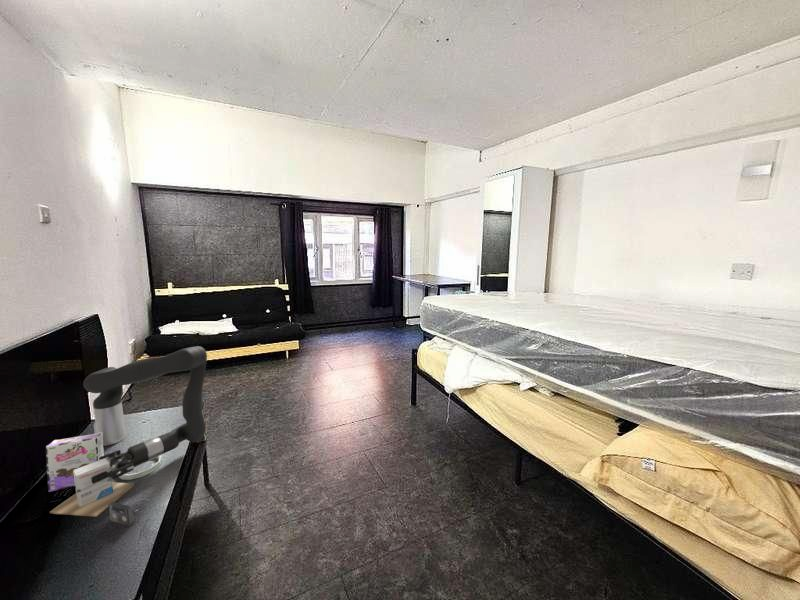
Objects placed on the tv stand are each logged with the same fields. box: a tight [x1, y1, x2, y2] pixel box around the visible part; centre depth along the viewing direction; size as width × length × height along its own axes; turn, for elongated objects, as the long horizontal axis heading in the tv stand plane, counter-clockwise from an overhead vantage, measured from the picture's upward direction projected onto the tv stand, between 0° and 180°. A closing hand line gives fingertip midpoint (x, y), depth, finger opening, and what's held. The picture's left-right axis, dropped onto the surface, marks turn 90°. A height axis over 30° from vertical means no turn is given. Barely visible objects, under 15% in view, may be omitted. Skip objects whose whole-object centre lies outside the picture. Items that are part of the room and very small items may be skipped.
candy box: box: [45, 432, 105, 493], centre depth 115 cm, size 14×6×16 cm, turn 116°
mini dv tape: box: [108, 501, 136, 527], centre depth 100 cm, size 8×2×6 cm, turn 76°
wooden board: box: [49, 481, 136, 518], centre depth 109 cm, size 16×14×1 cm
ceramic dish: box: [118, 455, 163, 481], centre depth 125 cm, size 13×13×2 cm
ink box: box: [73, 457, 113, 507], centre depth 108 cm, size 9×5×12 cm, turn 142°
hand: (88, 475), depth 107 cm, fingers open, 8 cm apart
